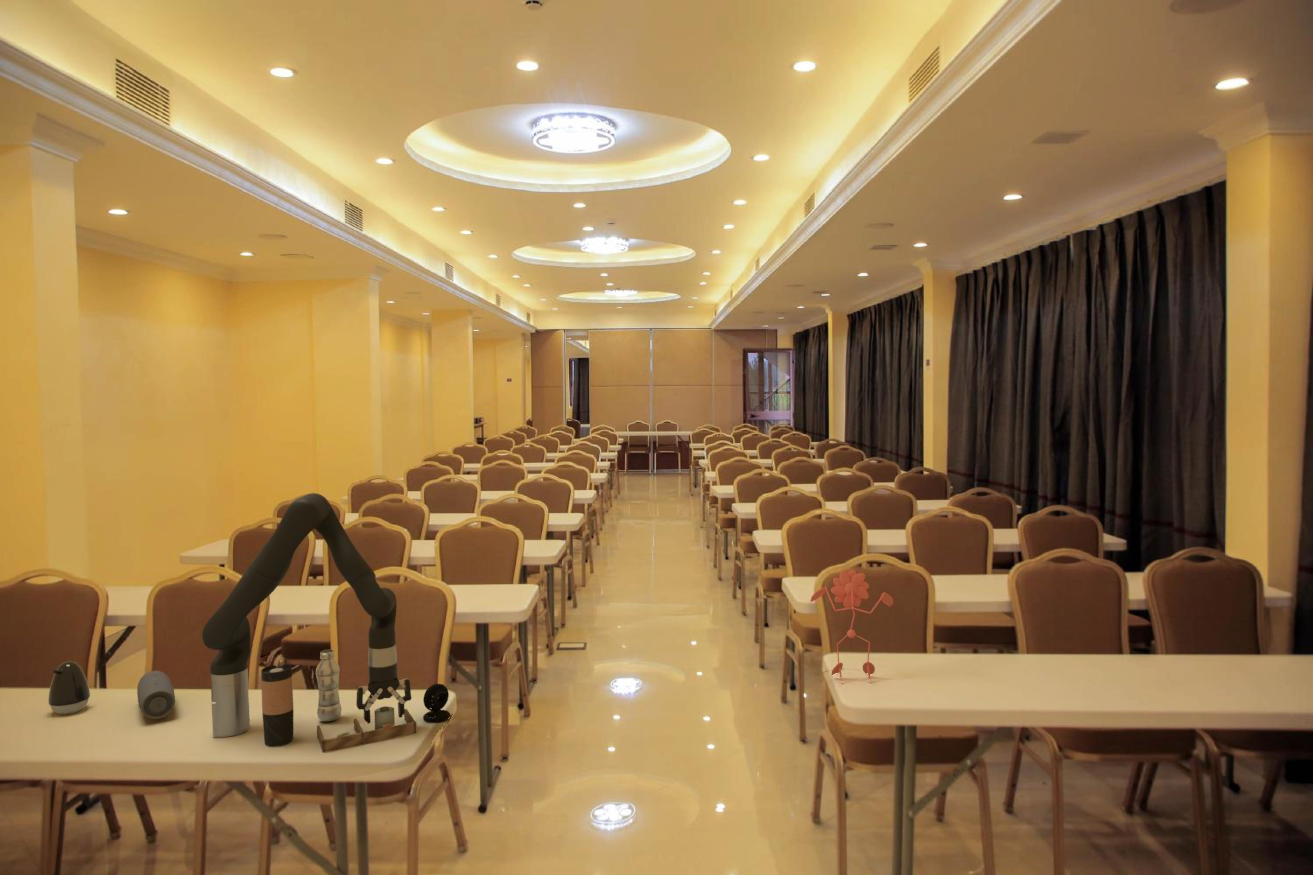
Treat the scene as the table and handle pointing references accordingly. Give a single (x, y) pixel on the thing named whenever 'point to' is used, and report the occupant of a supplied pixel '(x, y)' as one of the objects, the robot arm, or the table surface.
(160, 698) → the bluetooth speaker
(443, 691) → the webcam
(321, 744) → the slot rack
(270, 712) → the travel mug
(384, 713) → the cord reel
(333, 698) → the plastic bottle
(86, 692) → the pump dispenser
